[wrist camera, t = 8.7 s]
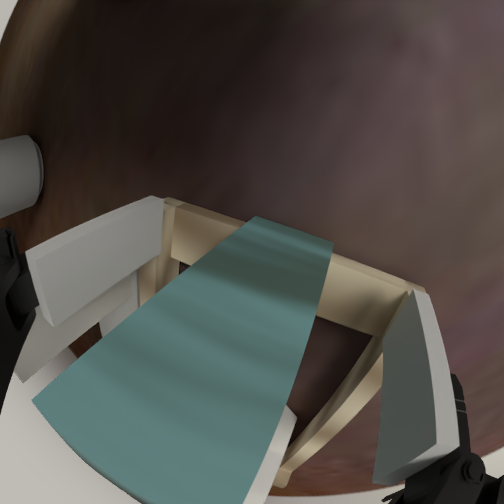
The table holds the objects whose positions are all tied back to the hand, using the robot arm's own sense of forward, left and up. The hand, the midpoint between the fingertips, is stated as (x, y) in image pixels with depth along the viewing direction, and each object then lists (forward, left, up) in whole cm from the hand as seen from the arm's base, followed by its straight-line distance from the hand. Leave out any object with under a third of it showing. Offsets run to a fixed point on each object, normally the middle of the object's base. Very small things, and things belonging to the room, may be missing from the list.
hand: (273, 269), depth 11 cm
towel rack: (+10, 0, -3) cm, 11 cm away
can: (+1, -26, -3) cm, 27 cm away
